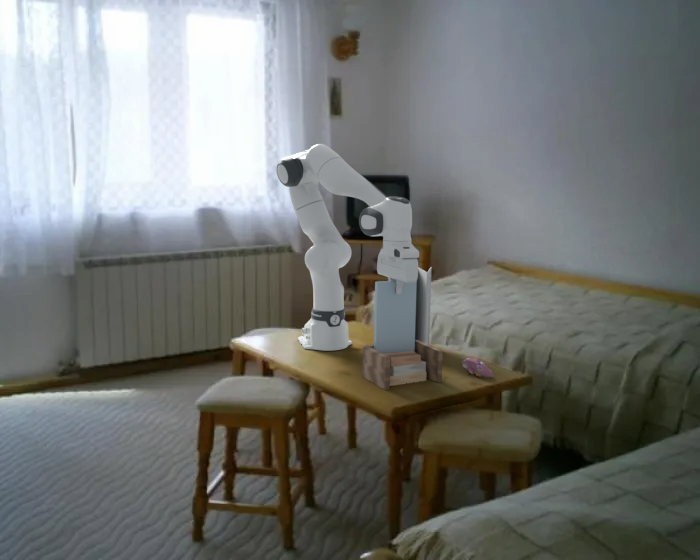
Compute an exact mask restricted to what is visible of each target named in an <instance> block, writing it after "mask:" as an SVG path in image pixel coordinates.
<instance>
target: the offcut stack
mask: <svg viewBox="0 0 700 560" xmlns="http://www.w3.org/2000/svg"><path fill="white" fill-rule="evenodd" d="M384 354H385V355H386V356H388V357H390V385H389V387H391V386H399V385H406V383H407V384H412V383H413V382H414V383H419V382H420V381H421V382H427V377H426V362H425V361H422V360H421V356H420V355H419V354H417V353H415V352H414V351H406V352H395V353H384ZM414 383H413V384H414Z"/></svg>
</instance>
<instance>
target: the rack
mask: <svg viewBox="0 0 700 560" xmlns="http://www.w3.org/2000/svg"><path fill="white" fill-rule="evenodd" d="M414 352H415V353H417V354H419V355H420V356H421V360H422V361H425V362H426V378H428V379H430V380H432V381H433V380H434V381H433V382H435V381H436V382H435V383H437V382H439V383H443V380H442V379H443V355H444V354H443V353H444V351H443V350H441V349H439V348H437V347H435V346H433V345H430V344H429V345H428V344H426V343H424V342H422V341H419V340H415V350H414ZM361 357H362V359H361V360H362V361H361V362H362V365H361V366H362V367H361V368H362V369H361V376H362V377H363V378H365V379H366V380H368V381H369V382H370V383H372V384H374V385H375V386H377V387H378V388H379V387H380V388H381V389H382V390H384V391H389V390H390V386H389V385H390V357H388V356H386V355H385V354H383V353H381V352H379V351H377V350H375V349H374V344H367V345H366V344H365V345H362V356H361Z"/></svg>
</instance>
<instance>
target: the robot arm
mask: <svg viewBox="0 0 700 560" xmlns="http://www.w3.org/2000/svg"><path fill="white" fill-rule="evenodd" d="M276 174H277V178H278V180H279V182H280V183H281V184H282V185H283V186H284V187H288V191H289V196H290V200H291V204H292V206H293V210H294V212H295V215H296V217H297V220H298V223H299V226H300V228H301V230H302V232H303V234H305V235H306V236H307V237H308V238H309V239H310V241H311V242H312V244H313V245H312V246H311V247H309V248H308V249H307V251H306V252H305V255H304V264H305V266H306V268H307V269H308V271H309V274H310V279H311V283H312V291H313V298H312V299H313V304H312V305H313V307H312V308H311V311H310V312H311V315H310V317H311V318H310V319H308V321H307V322H306V323H305V324H304V327H302V328H301V334H302V335H300V336H298V337H297V341H298V340H299V341H298V342H299V343H300V345H301V344H302V345H301V346H302V347H303V349H306V350H315V351H316V350H317V351H324V352H326V351H329V352H332V351H340V350H341V351H342V350H344V349H346V348H348V347H349V346H350V345H352V343H353V342H352V340H350V336H349V323H348V322H347V321H346V320H345V318H346V311H345V310H346V309H345V307H344V306H345V305H344V304H345V301H344V300H345V299H344V298H345V292H344V291H345V288H344V285H343V283H342V281H341V277H340V272H339V270H340V268H343V267H345V266H346V265H347V264H348V263H349V262H350V259H351V257H352V248H351V246H350V244H349V243H348V242H347V241H346V240H344V238H343V236H342V235H341V234H340V232H339V230H338V229H337V227H336V226H335V224H334V222H333V220H332V218H331V216H330V213H329V211H328V209H327V205H326V203H325V201H324V198H323V196H322V193H321V191H320V188H319V184H320V185H321V186H322V187H323V188H324V189H325V190H327V191H328V192H329V193H331V194H333V195H336V196H342V197H343V196H344V197H349V198H350V197H351V198H355V199H358V200H360V201H363V202H364V203H366V205H367V206H368V207H365V208H363V209H362V211H361V212H360V214H359V218H358V225H359V228H360V230H361V232H362V233H363V234H364V235H366V236H368V237H382V238H383V239H382V247H381V248H380V251H379V253H378V254H377V255H378V256H377V261H376V262H377V265H376V271H377V274H378V275H381V276H384V277H387V279H388V280H387V281H393V280H396V283H397V286H396V288H395V293H396V294H401V293H402V287H403V285H404V283H415V282H416V281H417V278H418V267H419V260H418V258H420V251H419V250H418V249H417V248H416V247H415V246H414V244H412V237H411V231H412V227H413V210H412V204H411V201H410V200H408V198H406V197H403V196H397V195H394V196H393V195H391V196H388V195H386V194H385V193H384V192H383V191H381V190H380V188H378V187H377V186H376V185H375V184H373V183H372V182H371V181H369V180H368V179H367V178H366V177H365V176H363V175H361V174H360V173H359V172H357V170H355V169H354V168H352V166H350V165H349V164H348V163H347V162H346V161H345V159H343V157H341V156H340V155H339V153H337V152H336V151H335V150H333V149H332V148H331V147H329V146H327V145H326V144H324V143H317V144H313V146H311V147H310V148H309V149H306V150H301V151H300V152H297V153H295V154H292V155H287V156H285V157H283V158H281V159H280V160H279V161H278V162H277V165H276Z"/></svg>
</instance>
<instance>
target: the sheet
mask: <svg viewBox="0 0 700 560" xmlns="http://www.w3.org/2000/svg"><path fill="white" fill-rule="evenodd" d="M396 286H397V283H396V280H393V281H388V280H383V281H382V280H380V281H375V282H374V316H373V317H374V319H373V320H374V322H373V323H374V324H373V327H374V328H373V345H374V349H375V350H377V351H379V352H381V353H383V354H384V353H395V352H406V351H414V350H415V318H416V287H417V281H416V282H415V283H404V285H403V287H402V293H401V294H396V293H395V288H396Z"/></svg>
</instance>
